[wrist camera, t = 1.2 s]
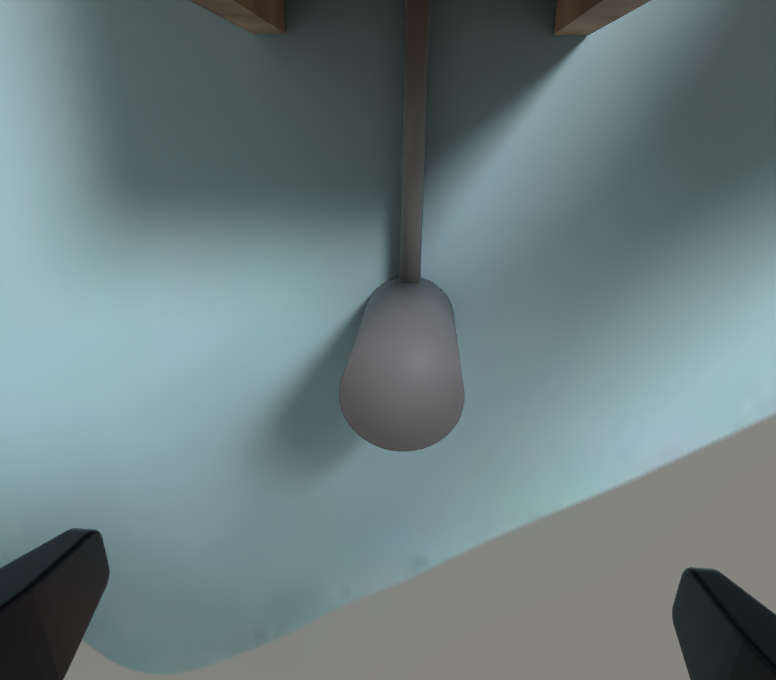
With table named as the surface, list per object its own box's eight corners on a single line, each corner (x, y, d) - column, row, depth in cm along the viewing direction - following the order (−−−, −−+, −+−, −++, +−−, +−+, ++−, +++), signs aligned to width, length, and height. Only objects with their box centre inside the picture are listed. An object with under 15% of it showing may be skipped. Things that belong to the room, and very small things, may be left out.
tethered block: (554, -348, 13) (650, -705, 7) (489, 363, 20) (514, 457, 14) (306, -339, 13) (217, -674, 8) (327, 357, 20) (289, 445, 15)
